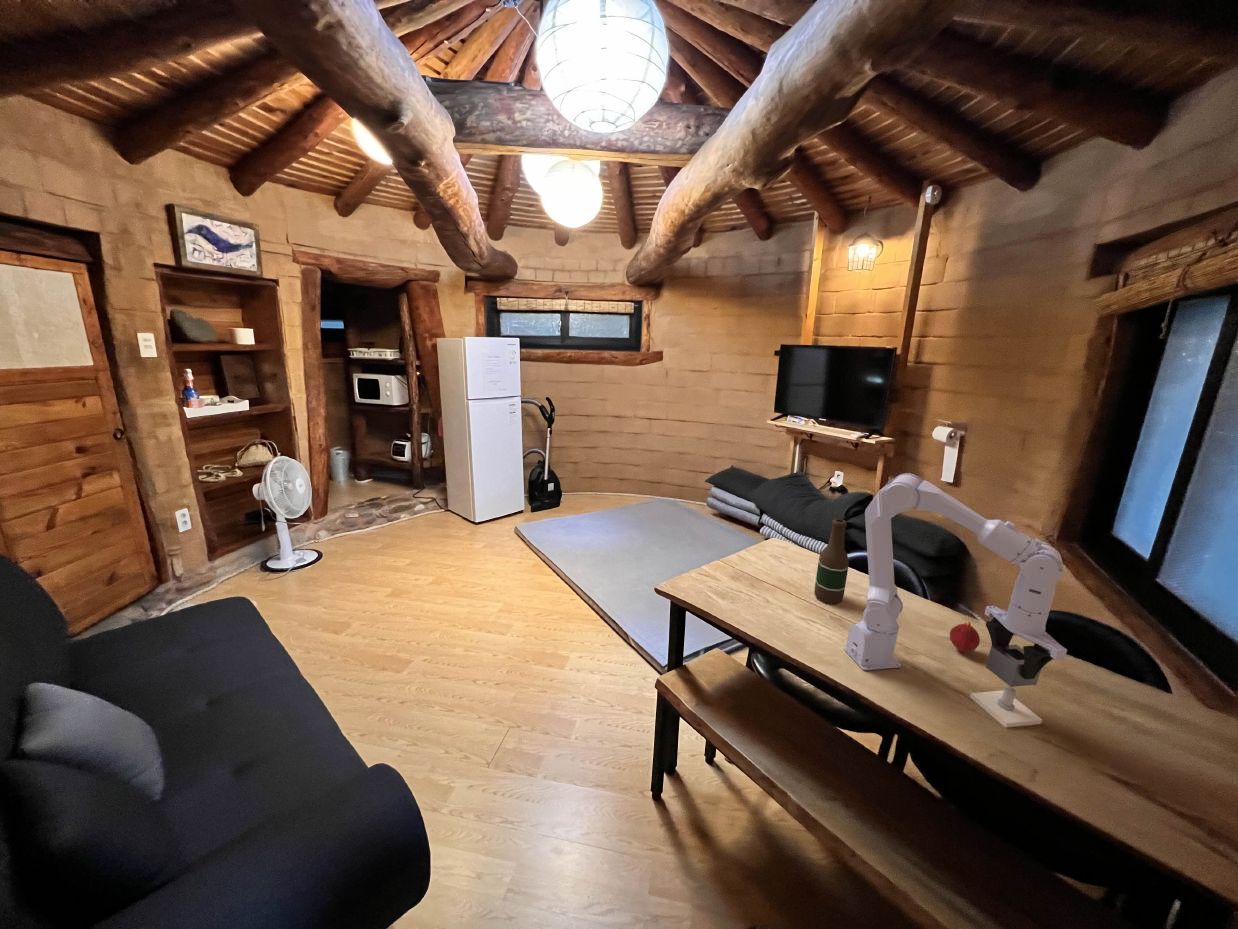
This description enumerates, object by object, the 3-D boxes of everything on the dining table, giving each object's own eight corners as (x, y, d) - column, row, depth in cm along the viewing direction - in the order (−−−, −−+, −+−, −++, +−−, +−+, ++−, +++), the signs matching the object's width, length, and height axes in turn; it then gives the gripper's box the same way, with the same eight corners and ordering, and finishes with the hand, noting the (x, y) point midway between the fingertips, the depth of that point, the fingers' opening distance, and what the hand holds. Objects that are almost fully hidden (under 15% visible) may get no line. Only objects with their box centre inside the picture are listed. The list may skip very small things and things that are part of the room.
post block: (1005, 727, 91) (1011, 706, 90) (970, 697, 99) (975, 677, 98) (1041, 723, 92) (1047, 702, 91) (1003, 694, 100) (1009, 674, 99)
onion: (981, 660, 110) (988, 630, 108) (953, 657, 112) (960, 627, 109) (968, 645, 116) (975, 616, 114) (942, 642, 117) (949, 613, 115)
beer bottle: (844, 596, 137) (857, 519, 131) (840, 608, 131) (853, 528, 125) (816, 588, 141) (827, 513, 135) (811, 600, 135) (822, 521, 129)
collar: (1010, 686, 91) (1017, 664, 90) (985, 667, 96) (991, 646, 95) (1036, 684, 92) (1043, 663, 90) (1010, 665, 97) (1016, 644, 96)
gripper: (1088, 627, 83) (1068, 691, 87) (1012, 585, 97) (997, 642, 101) (1054, 629, 82) (1035, 694, 86) (982, 587, 96) (968, 645, 100)
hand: (1012, 667), depth 93 cm, fingers closed on collar, 6 cm apart
